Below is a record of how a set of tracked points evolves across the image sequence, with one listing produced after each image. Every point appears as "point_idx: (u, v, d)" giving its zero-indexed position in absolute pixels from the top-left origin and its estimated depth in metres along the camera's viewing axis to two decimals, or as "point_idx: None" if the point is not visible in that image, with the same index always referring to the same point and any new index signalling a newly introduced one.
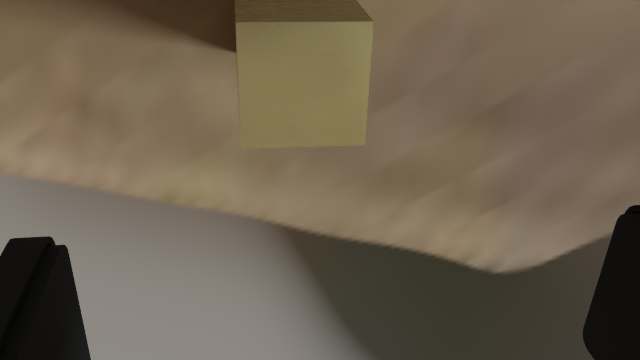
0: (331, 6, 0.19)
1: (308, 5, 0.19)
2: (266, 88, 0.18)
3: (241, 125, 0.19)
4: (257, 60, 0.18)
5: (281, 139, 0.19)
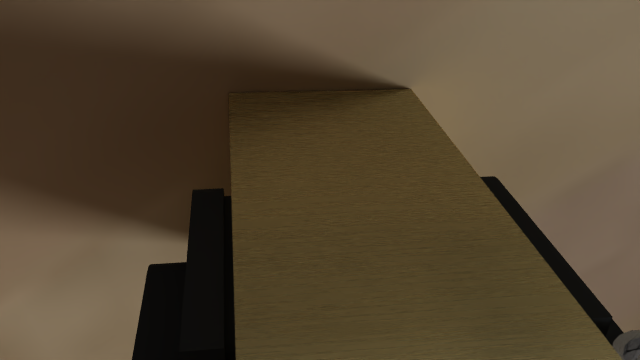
0: None
1: None
2: None
3: None
4: None
5: None
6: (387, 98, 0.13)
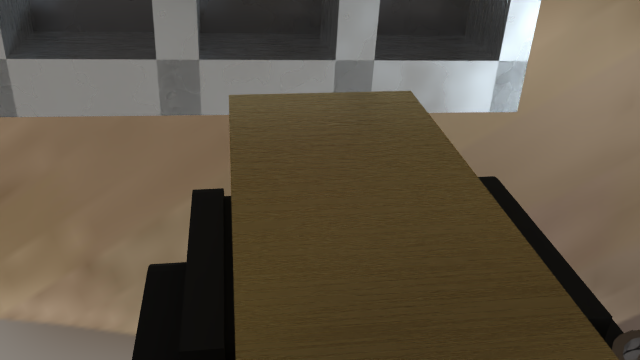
0: None
1: None
2: None
3: None
4: None
5: None
6: (387, 99, 0.13)
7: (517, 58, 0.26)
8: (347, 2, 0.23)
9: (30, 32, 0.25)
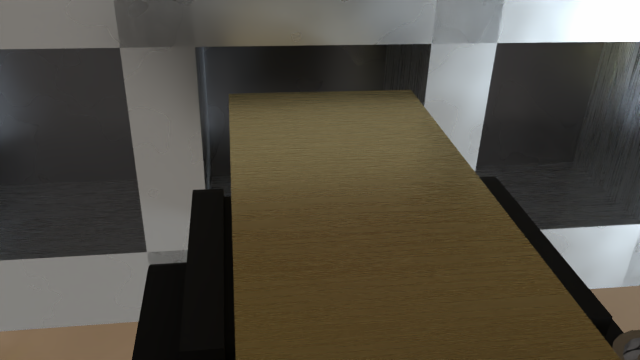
0: None
1: None
2: None
3: None
4: None
5: None
6: (387, 99, 0.13)
7: None
8: None
9: None
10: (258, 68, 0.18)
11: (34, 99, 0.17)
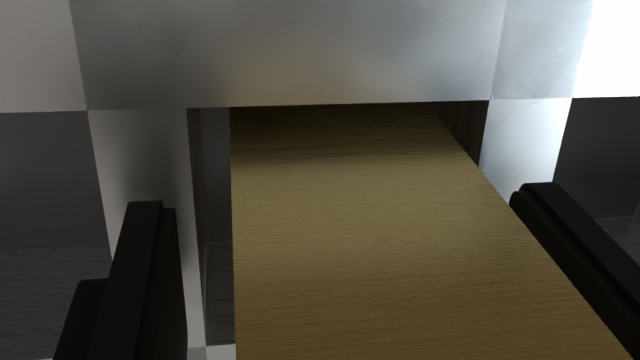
0: (482, 269, 0.07)
1: (423, 267, 0.07)
2: None
3: None
4: None
5: None
6: None
7: None
8: None
9: None
10: None
11: None
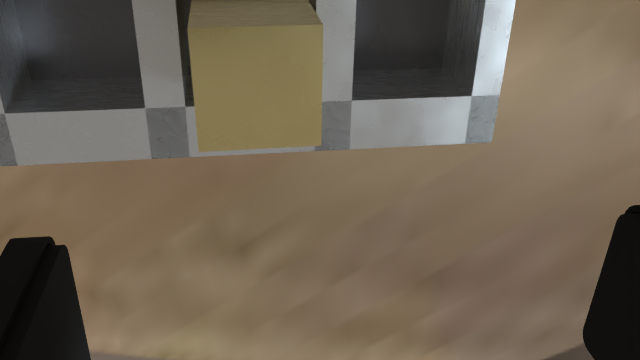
0: (284, 11, 0.20)
1: (262, 10, 0.20)
2: (221, 92, 0.19)
3: (198, 129, 0.19)
4: (210, 65, 0.18)
5: (238, 142, 0.20)
6: None
7: (489, 93, 0.27)
8: (323, 48, 0.25)
9: (28, 82, 0.27)
10: None
11: (69, 18, 0.26)
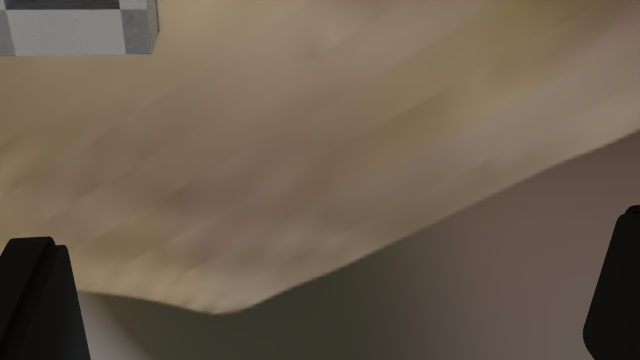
0: None
1: None
2: None
3: None
4: None
5: None
6: None
7: (136, 7, 0.30)
8: None
9: None
10: None
11: None
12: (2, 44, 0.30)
